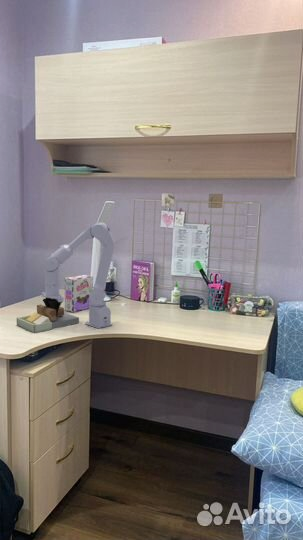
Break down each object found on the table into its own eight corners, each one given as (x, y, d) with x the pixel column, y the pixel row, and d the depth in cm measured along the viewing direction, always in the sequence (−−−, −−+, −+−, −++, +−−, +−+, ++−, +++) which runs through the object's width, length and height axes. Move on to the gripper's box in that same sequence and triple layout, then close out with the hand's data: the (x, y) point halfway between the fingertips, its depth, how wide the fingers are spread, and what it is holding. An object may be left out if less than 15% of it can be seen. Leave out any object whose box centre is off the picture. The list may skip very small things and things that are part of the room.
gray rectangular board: (79, 323, 187) (79, 316, 187) (34, 333, 172) (34, 325, 171) (61, 316, 198) (61, 309, 197) (16, 325, 183) (16, 317, 182)
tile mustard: (43, 318, 183) (41, 314, 182) (33, 325, 180) (31, 321, 179) (37, 316, 187) (35, 312, 186) (27, 323, 184) (25, 319, 183)
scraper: (70, 317, 185) (70, 307, 184) (51, 320, 178) (51, 310, 178) (54, 311, 193) (54, 302, 193) (37, 315, 187) (36, 305, 187)
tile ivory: (50, 321, 179) (48, 317, 178) (41, 328, 176) (38, 324, 175) (44, 319, 182) (42, 315, 181) (34, 326, 180) (32, 322, 179)
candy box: (72, 313, 204) (72, 279, 202) (64, 311, 208) (64, 277, 205) (93, 307, 215) (93, 275, 213) (85, 306, 219) (85, 274, 216)
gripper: (35, 283, 186) (35, 313, 188) (52, 288, 176) (53, 320, 178) (49, 281, 191) (50, 311, 193) (67, 286, 180) (67, 317, 183)
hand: (52, 315), depth 186 cm, fingers closed on scraper, 3 cm apart
